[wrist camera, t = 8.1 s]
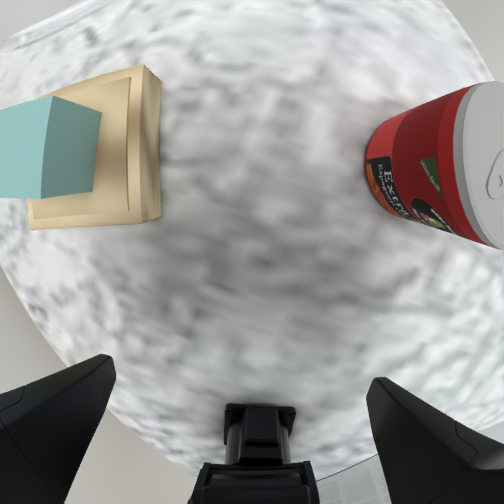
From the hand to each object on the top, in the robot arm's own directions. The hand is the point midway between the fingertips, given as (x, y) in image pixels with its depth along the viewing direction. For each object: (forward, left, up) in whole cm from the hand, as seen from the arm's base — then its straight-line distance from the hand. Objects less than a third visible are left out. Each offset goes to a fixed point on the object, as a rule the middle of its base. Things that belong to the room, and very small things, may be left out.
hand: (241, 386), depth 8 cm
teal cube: (+8, +12, -8) cm, 17 cm away
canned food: (+9, -11, -12) cm, 19 cm away
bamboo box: (+8, +12, -12) cm, 19 cm away
